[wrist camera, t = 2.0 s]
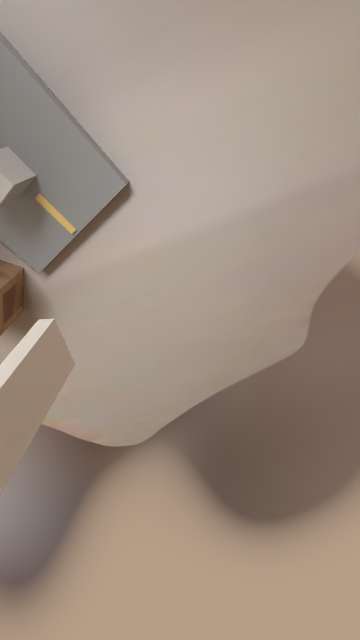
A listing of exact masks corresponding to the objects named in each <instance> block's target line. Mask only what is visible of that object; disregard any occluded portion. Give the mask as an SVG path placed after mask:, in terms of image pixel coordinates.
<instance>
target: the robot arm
mask: <svg viewBox="0 0 360 640" xmlns="http://www.w3.org/2000/svg"><path fill="white" fill-rule="evenodd" d="M74 365H75V363H74V361H73V359H72V356H71V354H70V352H69V350H68V348H67V345H66V343H65V341H64V339H63V337H62V334H61V332H60V330H59V328H58V326H57V323H56V321H55V319H39V320H38V321H37V322H36V323H35V324H34V326H33V327H32V328H31V329H30V330H29V332H28V333H27V334H26V335H25V336H24V337H23V339H22V340H21V341H20V342H19V343H18V345H17V346H16V347H15V348H14V349H13V350H12V352H11V353H10V354H9V355H8V356H7V358H6V359H5V360H4V361H3V362H2V363H1V365H0V495H1V493H2V491H3V490H4V488H5V486H6V484H7V483H8V481H9V479H10V477H11V475H12V474H13V472H14V470H15V468H16V467H17V465H18V463H19V461H20V460H21V458H22V456H23V454H24V453H25V451H26V449H27V447H28V446H29V444H30V442H31V440H32V439H33V437H34V435H35V433H36V432H37V430H38V428H39V426H40V425H41V423H42V421H43V419H44V418H45V416H46V414H47V412H48V411H49V409H50V407H51V405H52V404H53V402H54V400H55V398H56V397H57V395H58V393H59V391H60V390H61V388H62V386H63V384H64V383H65V381H66V379H67V377H68V376H69V374H70V372H71V370H72V369H73V367H74Z"/></svg>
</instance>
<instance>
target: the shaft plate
mask: <svg viewBox="0 0 360 640" xmlns="http://www.w3.org/2000/svg"><path fill="white" fill-rule="evenodd" d="M128 183H129V181H128V180H127V179H126V177H125V176H124V175H123V174H122V173H121V172H120V170H119V169H118V168H117V167H116V166H115V165H114V164H113V162H112V161H111V160H110V159H109V158H108V157H107V155H106V154H105V153H104V152H103V151H102V150H101V148H100V147H99V146H98V145H97V144H96V143H95V141H94V140H93V139H92V138H91V137H90V136H89V135H88V133H87V132H86V131H85V130H84V129H83V128H82V126H81V125H80V124H79V123H78V122H77V121H76V119H75V118H74V117H73V116H72V115H71V114H70V113H69V111H68V110H67V109H66V108H65V107H64V106H63V104H62V103H61V102H60V101H59V100H58V99H57V97H56V96H55V95H54V94H53V93H52V92H51V90H50V89H49V88H48V87H47V86H46V85H45V84H44V82H43V81H42V80H41V79H40V78H39V77H38V75H37V74H36V73H35V72H34V71H33V70H32V68H31V67H30V66H29V65H28V64H27V63H26V61H25V60H24V59H23V58H22V57H21V56H20V55H19V53H18V52H17V51H16V50H15V49H14V48H13V46H12V45H11V44H10V43H9V42H8V41H7V39H6V38H5V37H4V36H3V35H2V34H1V33H0V241H1V242H2V243H3V244H5V245H6V246H7V247H8V248H9V249H10V250H12V251H13V252H14V253H15V254H16V255H17V256H19V257H20V258H21V259H22V260H23V261H24V262H26V263H27V264H28V265H29V266H30V267H31V268H33V269H34V270H35V271H36V272H37V273H38V274H39V273H40V272H41V271H42V270H43V269H44V268H45V267H46V266H47V265H48V264H49V263H50V262H51V261H52V260H53V259H54V258H55V257H56V256H57V255H58V254H59V253H60V252H61V251H62V250H63V249H64V248H65V247H66V246H67V245H68V244H69V243H70V242H71V241H72V240H73V239H74V238H75V237H76V236H77V234H78V233H79V232H80V231H81V230H82V229H83V228H84V227H85V226H86V225H87V224H88V223H89V222H90V221H91V220H92V219H93V218H94V217H95V216H96V215H97V214H98V213H99V212H100V211H101V210H102V209H103V208H104V207H105V206H106V205H107V204H108V203H109V202H110V201H111V200H112V199H113V198H114V197H115V196H116V195H117V194H118V193H119V192H120V191H121V190H122V189H123V188H124V187H125V186H126V185H127V184H128Z"/></svg>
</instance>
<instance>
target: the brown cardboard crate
mask: <svg viewBox="0 0 360 640" xmlns="http://www.w3.org/2000/svg"><path fill="white" fill-rule="evenodd" d="M23 272H24V268H21V267H18V266H15V265H12V264H9V263H7V262H4V261H1V260H0V335H1V334H2V333H3V332H4V331H5V330H6V329H7V328H8V327H9V326H10V324H11V323H12V322H13V321H14V320H15V319H16V318H17V317H18V316H19V315H20V314H21V313H22V312H23Z"/></svg>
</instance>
